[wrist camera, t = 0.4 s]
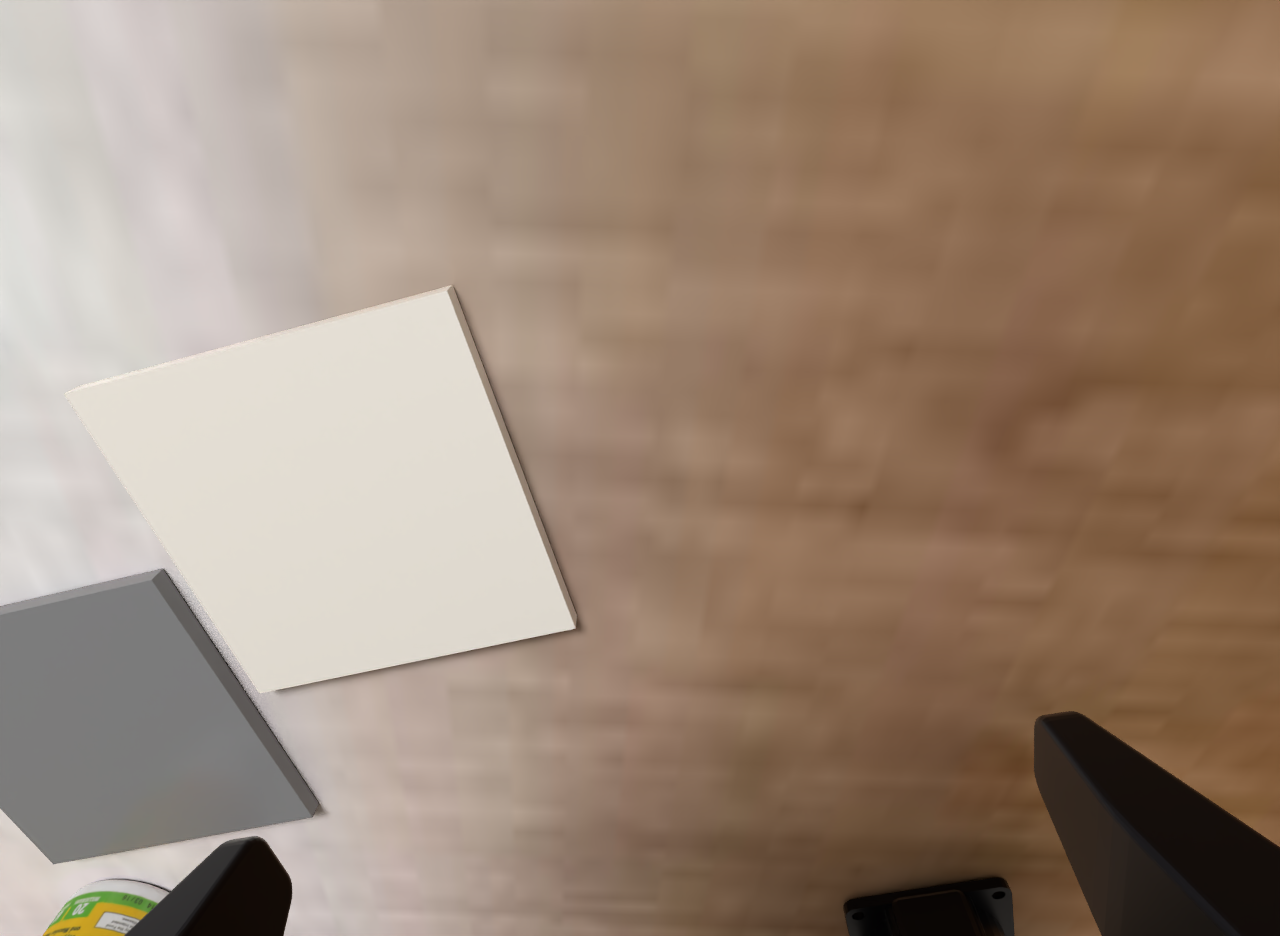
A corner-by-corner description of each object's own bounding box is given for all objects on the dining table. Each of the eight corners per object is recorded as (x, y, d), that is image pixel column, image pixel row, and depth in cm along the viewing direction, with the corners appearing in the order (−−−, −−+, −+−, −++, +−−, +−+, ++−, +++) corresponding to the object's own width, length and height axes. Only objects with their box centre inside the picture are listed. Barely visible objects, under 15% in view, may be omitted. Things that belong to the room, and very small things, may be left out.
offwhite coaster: (576, 616, 24) (575, 628, 23) (267, 681, 25) (259, 693, 25) (452, 284, 19) (446, 290, 19) (78, 385, 21) (63, 394, 20)
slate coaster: (318, 803, 28) (312, 817, 28) (64, 850, 29) (53, 864, 29) (162, 568, 23) (151, 579, 23) (-133, 637, 25) (-151, 649, 24)
